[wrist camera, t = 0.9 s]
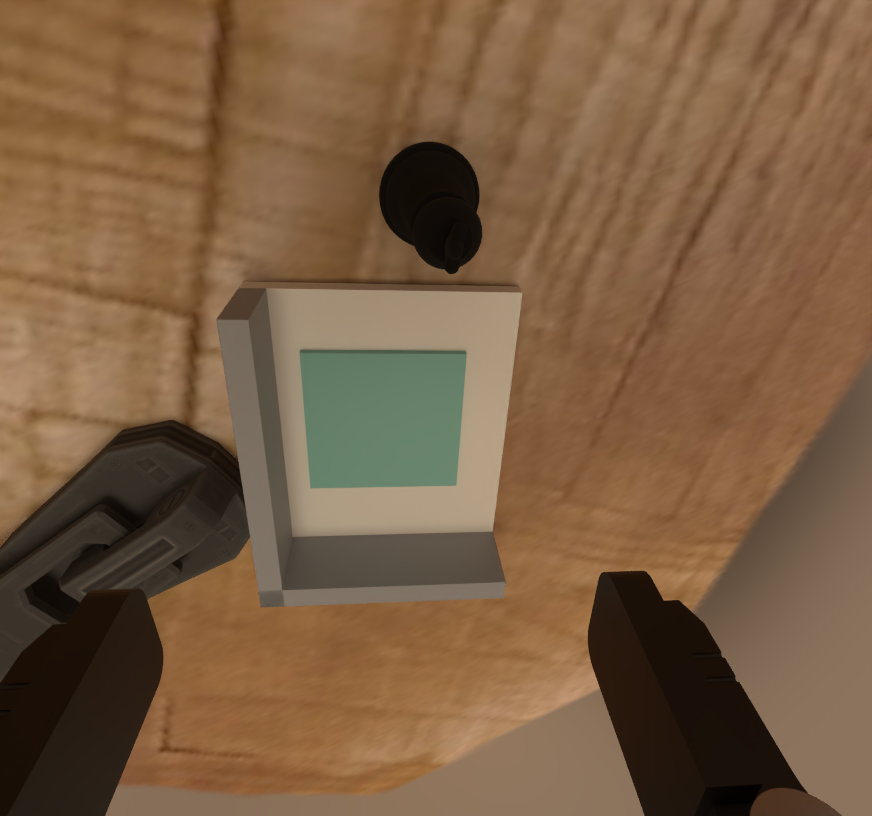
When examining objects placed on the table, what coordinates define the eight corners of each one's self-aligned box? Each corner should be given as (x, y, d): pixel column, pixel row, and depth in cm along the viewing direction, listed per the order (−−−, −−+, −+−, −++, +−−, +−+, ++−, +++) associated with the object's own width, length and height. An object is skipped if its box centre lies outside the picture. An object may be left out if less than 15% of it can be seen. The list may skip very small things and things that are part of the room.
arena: (243, 281, 26) (216, 319, 22) (517, 286, 27) (544, 323, 23) (276, 540, 34) (261, 607, 29) (488, 535, 35) (503, 597, 31)
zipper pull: (-238, 716, 28) (118, 472, 23) (-134, 610, 34) (170, 396, 29) (-68, 786, 32) (268, 593, 27) (0, 681, 38) (287, 504, 33)
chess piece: (489, 154, 24) (550, 189, 16) (465, 254, 26) (508, 335, 18) (388, 131, 23) (394, 155, 15) (372, 236, 25) (369, 311, 17)
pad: (300, 349, 27) (299, 353, 26) (465, 350, 28) (466, 354, 27) (311, 484, 31) (310, 488, 30) (455, 481, 31) (456, 485, 31)
